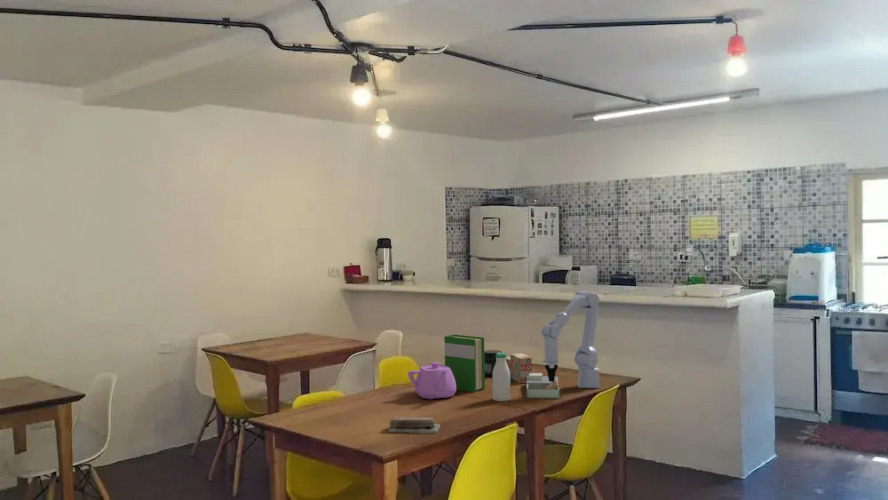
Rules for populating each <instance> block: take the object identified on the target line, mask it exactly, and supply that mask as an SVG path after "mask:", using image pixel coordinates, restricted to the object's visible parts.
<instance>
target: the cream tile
mask: <svg viewBox="0 0 888 500" xmlns="http://www.w3.org/2000/svg"><path fill="white" fill-rule="evenodd" d="M542 376H543V373H542V372H532V373H529V380H542Z"/></svg>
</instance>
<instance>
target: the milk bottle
mask: <svg viewBox="0 0 888 500" xmlns="http://www.w3.org/2000/svg"><path fill="white" fill-rule="evenodd" d="M506 357H507V353H505V352H502V353H496V364H495V366H494V369H493V377H492V399H493V401H496V402H508V401H510V400H511V398H512V397H511V395H512V393H511V390H512V389H511V378H510V370H509V367H508V365H507V363H506Z"/></svg>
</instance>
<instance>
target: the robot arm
mask: <svg viewBox="0 0 888 500" xmlns="http://www.w3.org/2000/svg"><path fill="white" fill-rule="evenodd" d="M599 302H600V297H599V295H598V293H596V292H594V291H584V290H583V291H582V290H579V291H576V293H575V294H574V295H573V299H572V300H571V301H570V303H569V304H568V305H567V306H566V307H565V309H564V310H563V311H562V312H561V311H560V312H559V313H556V314H555V316H554V317H553V318H552V319H551V320H550V321H549V323H547V324H545V325H543V327H542V330H541V334H542V336H543V339H544V359H543V360H542V363H543V364H545V365H544V368H545V370H546V372H547V373H546V374H547V376H548V378H549V381H550V382H554V379H555V376H556V373H557V369H558V368H559V366H558V364H559V359H558V358H559V357H558V356H559V355H558V353H559V351H558V350H559V349H558V348H559V347H558V337H559V336H560V335H561V332H562V329H563V328H564V327H565V326H566V324H568V322H569V318H570V317H571V316H572V315H573V313H575V312H576V311H577V310H578V309H579V308H582V309H584V311H585V318H584V319H585V321H584V326H583V334H582V340H581V346H579V347H578V348H577V351H576V353H575V356H574V362H575V364H576V365H577V367H578V370H577V371H578V382H577V388H579V389H582V388H583V389H599V388H600V370H599V369H600V368H599V367H596V366H598V365H597V364H598V362H599V359H598V351H597V349H595V341H596V332H597V325H598V319H599V312H600V311H599V310H600V309H599Z"/></svg>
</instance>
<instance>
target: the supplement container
mask: <svg viewBox="0 0 888 500" xmlns="http://www.w3.org/2000/svg"><path fill="white" fill-rule="evenodd" d="M496 353H503V352H502V351H501V350H498V349H487V350H484V360H485V377H488V378H491V377H492V378H493V369H494V366H495V364H496Z"/></svg>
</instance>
